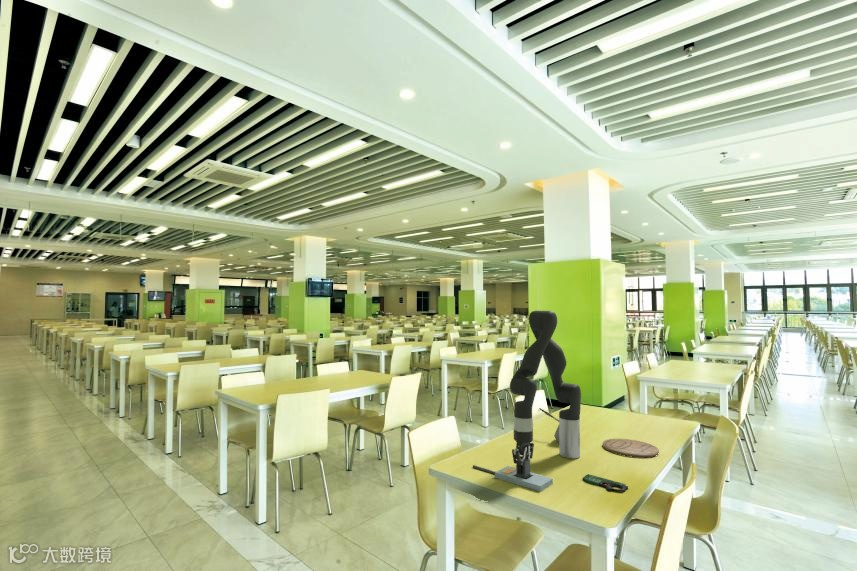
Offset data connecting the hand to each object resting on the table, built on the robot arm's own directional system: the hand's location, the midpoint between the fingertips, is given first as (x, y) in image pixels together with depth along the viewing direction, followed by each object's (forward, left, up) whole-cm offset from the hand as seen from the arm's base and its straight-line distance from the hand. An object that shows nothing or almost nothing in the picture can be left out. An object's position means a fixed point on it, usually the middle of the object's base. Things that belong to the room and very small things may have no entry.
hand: (523, 472), depth 168 cm
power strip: (0, -7, -3) cm, 7 cm away
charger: (0, 0, -3) cm, 3 cm away
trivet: (-72, +19, -4) cm, 75 cm away
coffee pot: (-61, -14, -3) cm, 63 cm away
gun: (-18, +25, -4) cm, 31 cm away
